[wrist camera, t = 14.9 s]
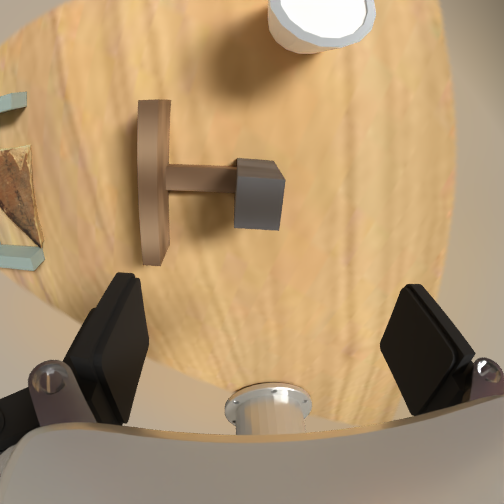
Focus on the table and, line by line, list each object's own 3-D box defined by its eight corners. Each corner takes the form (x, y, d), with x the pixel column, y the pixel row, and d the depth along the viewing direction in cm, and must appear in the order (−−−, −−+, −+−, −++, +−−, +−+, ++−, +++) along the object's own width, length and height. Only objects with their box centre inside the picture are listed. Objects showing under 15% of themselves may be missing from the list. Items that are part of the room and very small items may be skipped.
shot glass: (242, 16, 19) (244, -13, 12) (306, -22, 17) (329, -55, 11) (296, 76, 21) (318, 67, 15) (357, 37, 19) (396, 20, 13)
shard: (47, 242, 27) (39, 250, 26) (2, 239, 27) (-7, 245, 25) (36, 142, 22) (26, 146, 21) (-11, 149, 22) (-21, 153, 20)
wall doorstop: (263, 249, 28) (270, 289, 23) (154, 243, 28) (135, 281, 22) (279, 105, 22) (293, 105, 17) (153, 100, 22) (126, 100, 16)
